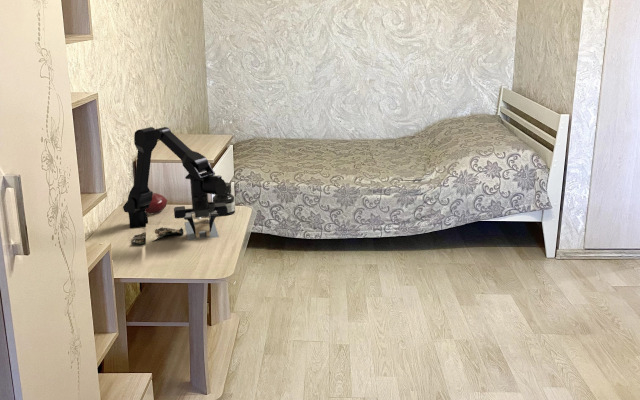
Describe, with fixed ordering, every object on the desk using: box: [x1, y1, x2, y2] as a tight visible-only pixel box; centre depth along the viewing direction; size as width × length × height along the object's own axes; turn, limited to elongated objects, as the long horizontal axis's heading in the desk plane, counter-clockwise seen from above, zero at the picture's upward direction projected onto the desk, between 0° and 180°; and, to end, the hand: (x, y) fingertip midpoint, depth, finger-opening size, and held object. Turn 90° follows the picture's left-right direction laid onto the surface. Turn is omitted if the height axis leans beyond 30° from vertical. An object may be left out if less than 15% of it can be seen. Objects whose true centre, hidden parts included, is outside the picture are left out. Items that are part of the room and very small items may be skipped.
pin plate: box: [184, 217, 220, 241], centre depth 245 cm, size 11×21×4 cm, turn 14°
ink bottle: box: [212, 181, 236, 216], centre depth 267 cm, size 10×9×12 cm
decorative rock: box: [131, 227, 184, 246], centre depth 240 cm, size 19×6×15 cm
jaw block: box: [193, 218, 210, 238], centre depth 238 cm, size 5×6×5 cm
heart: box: [145, 192, 168, 215], centre depth 271 cm, size 12×8×10 cm
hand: (202, 233), depth 238 cm, fingers closed on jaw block, 5 cm apart
